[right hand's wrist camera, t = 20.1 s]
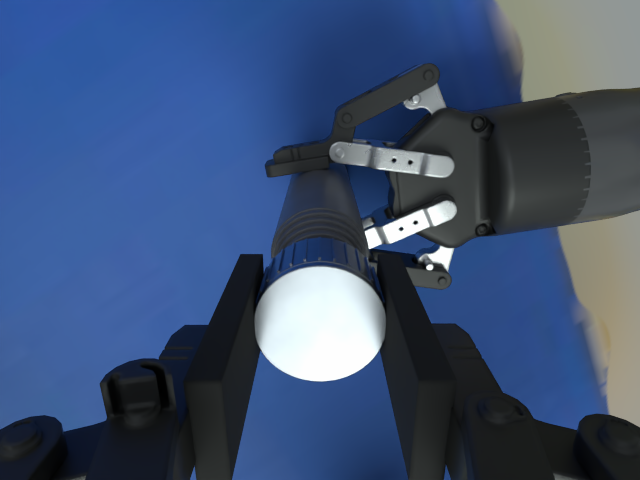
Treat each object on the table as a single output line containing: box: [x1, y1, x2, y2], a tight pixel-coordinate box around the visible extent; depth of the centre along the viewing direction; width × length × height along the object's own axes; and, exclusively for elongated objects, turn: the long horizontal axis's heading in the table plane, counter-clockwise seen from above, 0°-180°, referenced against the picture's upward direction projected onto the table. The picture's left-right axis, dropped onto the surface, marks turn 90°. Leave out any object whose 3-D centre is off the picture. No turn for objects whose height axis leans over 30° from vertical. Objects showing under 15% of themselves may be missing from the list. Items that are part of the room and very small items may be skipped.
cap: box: [254, 237, 386, 381], centre depth 14 cm, size 4×4×2 cm
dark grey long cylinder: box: [271, 163, 369, 261], centre depth 23 cm, size 4×4×20 cm
